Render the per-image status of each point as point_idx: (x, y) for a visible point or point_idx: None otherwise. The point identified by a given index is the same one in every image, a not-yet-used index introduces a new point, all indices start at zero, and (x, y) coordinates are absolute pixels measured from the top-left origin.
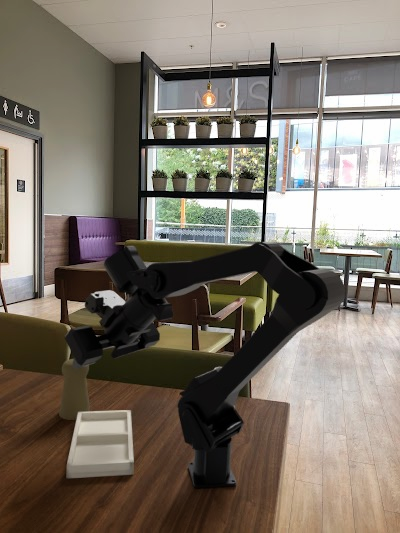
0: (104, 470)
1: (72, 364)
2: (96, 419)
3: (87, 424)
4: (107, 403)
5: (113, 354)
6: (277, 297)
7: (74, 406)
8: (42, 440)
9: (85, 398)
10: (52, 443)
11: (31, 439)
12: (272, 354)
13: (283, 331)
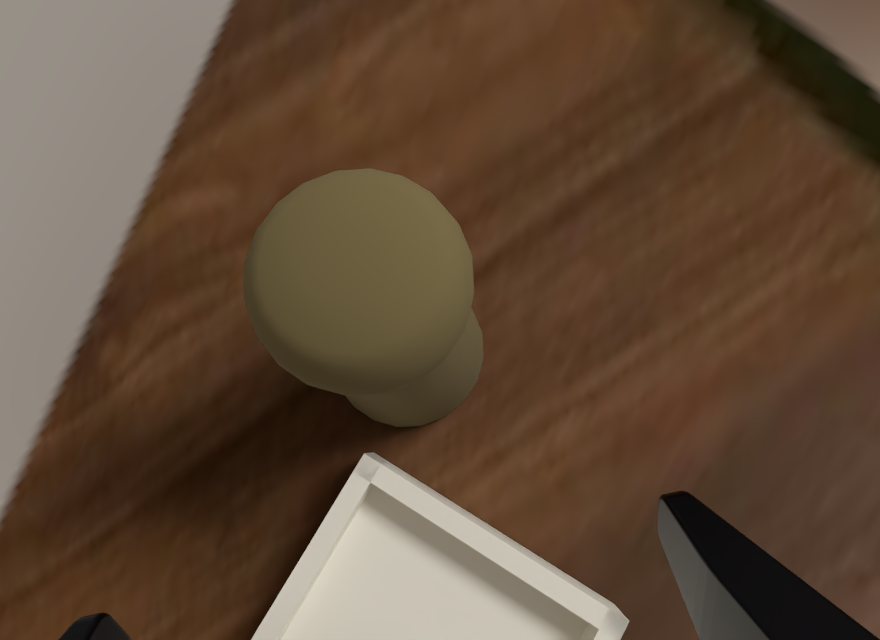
0: None
1: (71, 627)
2: (438, 530)
3: (370, 559)
4: (606, 331)
5: (678, 553)
6: None
7: (361, 406)
8: (155, 535)
9: (429, 399)
10: (174, 595)
11: (124, 494)
12: None
13: None
